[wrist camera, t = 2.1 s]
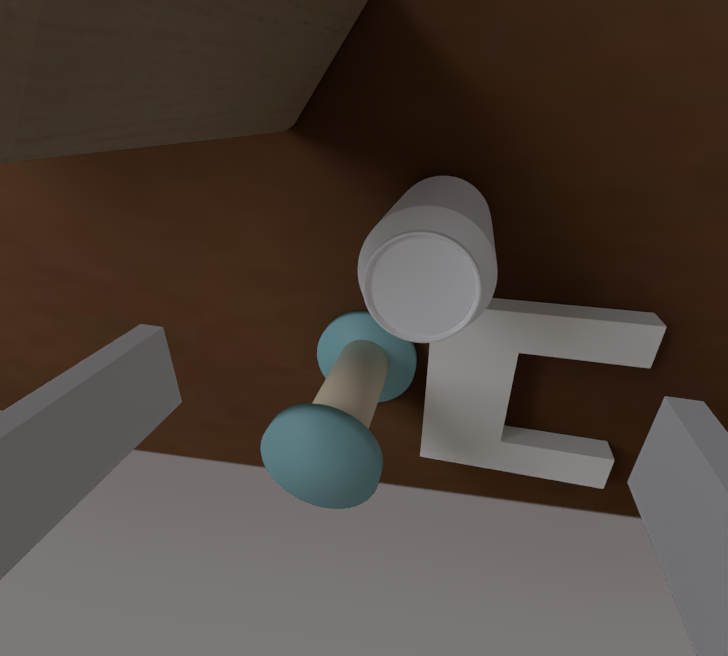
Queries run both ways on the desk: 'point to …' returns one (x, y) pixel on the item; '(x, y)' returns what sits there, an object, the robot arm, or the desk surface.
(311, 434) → the bobbin
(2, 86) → the wooden block
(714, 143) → the desk surface
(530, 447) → the u-shaped block
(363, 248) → the beverage can
